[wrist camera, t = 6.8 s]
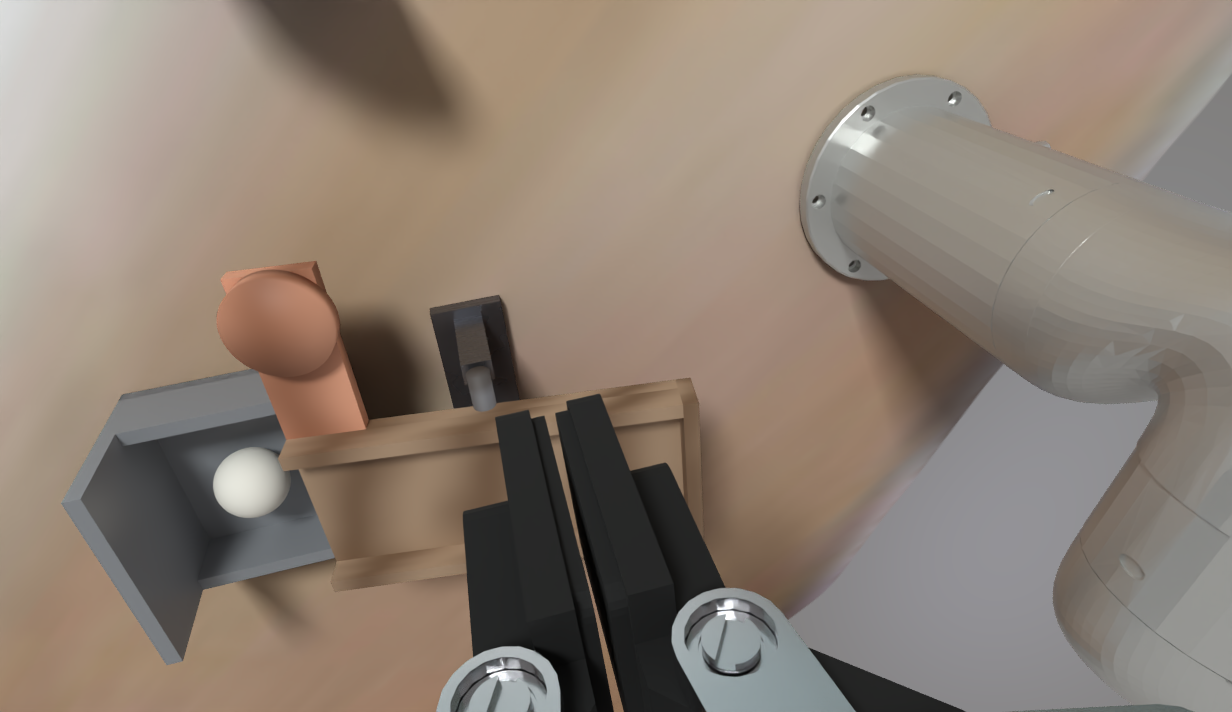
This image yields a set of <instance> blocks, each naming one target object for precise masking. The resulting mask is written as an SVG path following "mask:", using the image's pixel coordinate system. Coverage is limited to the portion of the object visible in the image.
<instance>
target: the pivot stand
mask: <svg viewBox="0 0 1232 712" xmlns="http://www.w3.org/2000/svg"><path fill="white" fill-rule="evenodd" d="M430 316H431V320H432V324H433V328H434V331H435V335H436V339H437V343H438V347H439V351H440V355H441V359H442V363H443V367H444V371H445V375H446V379H447V383H448V387H449V391H450V395H451V399H452V403H453V407H454V409H456V408H464V407H471V406H473V404H472V399H471V395H470V391H469V387H468V382H467V378H466V372H467V371H468V370H469V369H471V368H473V367H477V366H485V367H487V368H489V370H490V375H491V380H492V384H493V389H494V394H495V398H496V403H502V402H509V401H517V400H519V395H518V389H517V384H516V379H515V374H514V369H513V364H512V358H511V353H510V348H509V343H508V338H507V333H506V328H505V322H504V317H503V312H502V307H501V302H500V298H499V295H497V296H491V297H486V298H481V299H476V300H471V301H465V302H460V303H455V304H450V305H445V306H440V307H434V308H430Z"/></svg>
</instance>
